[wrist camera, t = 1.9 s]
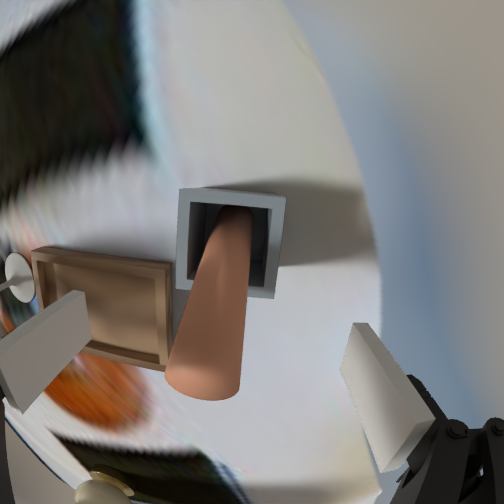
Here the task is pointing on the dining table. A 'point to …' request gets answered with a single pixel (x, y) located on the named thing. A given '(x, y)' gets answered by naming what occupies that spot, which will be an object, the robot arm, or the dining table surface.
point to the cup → (201, 224)
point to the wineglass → (19, 277)
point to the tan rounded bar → (215, 313)
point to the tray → (113, 302)
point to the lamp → (105, 487)
